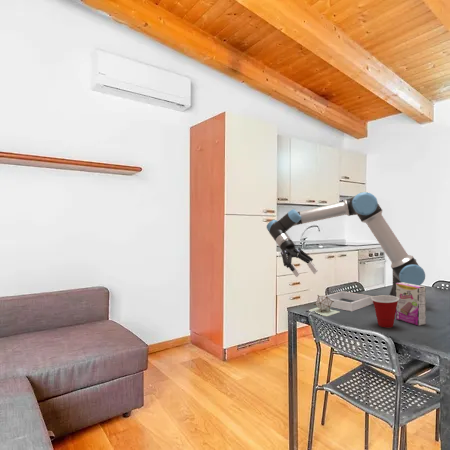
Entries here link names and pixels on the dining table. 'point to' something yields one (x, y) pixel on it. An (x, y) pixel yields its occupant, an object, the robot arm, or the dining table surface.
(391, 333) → the dining table surface
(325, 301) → the wireframe polyhedron
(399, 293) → the candy bar box
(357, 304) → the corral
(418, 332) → the dining table surface
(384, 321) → the plastic cup
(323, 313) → the pad
